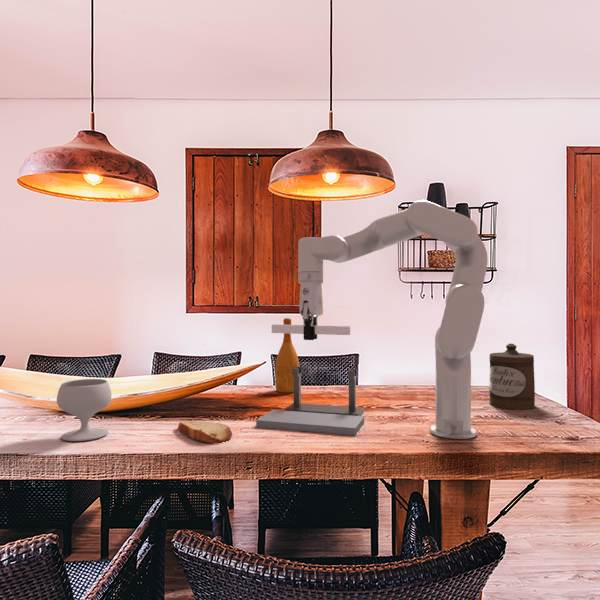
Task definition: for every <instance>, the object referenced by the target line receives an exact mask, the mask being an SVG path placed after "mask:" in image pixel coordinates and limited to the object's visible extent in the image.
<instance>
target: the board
mask: <svg viewBox="0 0 600 600" xmlns="http://www.w3.org/2000/svg"><path fill="white" fill-rule="evenodd" d="M364 424H365V416H363V415H362V416H352V415H338V414H324V413H310V412H296V411H284V410H278V409H272V410H270V411H268V412H267V413H265V414H264V415H262V416H260V417H259V418H257V419H256V420H255V425H256V428H266V429H276V430H277V429H278V430H287V429H289V431H302V432H312V433H323V434H324V433H325V434H334V435H335V434H336V435H337V434H338V435H346V434H348V436H356V435H357V434H358V433H359V432H360V430H361V429H362V427H363V425H364ZM359 429H360V430H359ZM357 432H358V433H357Z"/></svg>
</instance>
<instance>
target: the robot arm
mask: <svg viewBox="0 0 600 600" xmlns="http://www.w3.org/2000/svg"><path fill="white" fill-rule="evenodd" d="M423 235H427V236H428V237H431V238H434V239H436V240H438V241H440V242H443V243H444V244H445V246H446V247H447V248H448V249H450V250H451V251H452V252H453V255H454V257H455V263H454V264H455V265H454V268H453V273H452V277H451V281H450V285H449V288H448V291H447V294H446V296H445V308H444V311H443V316H442V319H441V323H440V326H439V327H438V329H437V331H436V333H435V337H434V347H435V348H434V349H435V350H434V351H435V353H434V354H435V424H433V425H431V426H430V427H429V432H430V433H431V434H432V435H434V436H436V437H441V438H445V439H452V440H453V439H454V440H467V439H472V438H475V437H476V436H477V429H475V428H474V427H472V426H471V425H472V424H471V423H472V421H471V420H472V419H471V418H472V409H471V408H472V397H471V396H472V393H471V391H472V387H471V386H472V363H471V361H472V360H471V358H472V357H471V352H472V351H473V349H474V347H475V345H476V340H477V337H478V333H479V329H480V326H481V322H482V318H483V314H484V309H485V297H484V294H483V286H484V282H485V279H486V278H485V277H486V273H487V268H488V261H489V259H488V251H487V249H486V246H485V244H484V242H483V240H482V238H481V237H480V236H479V231H478V226H477V225H476V223H475V222H474V221H473V220H472V219H471V218H470V217H468V216H466V215H464V214H462V213H459V212H457V211H453V210H452V209H449V208H446V207H444V206H442V205H439V204H437V203H434V202H431V201H428V200H425V199H422V200H416V201H414V202H412V203H411V204H409V206H408V208H406V209H403V210H401V211H398V212H393V214H389V215H386V216H383V217H381V218H377V219H376V220H374V221H373V222H371V223H370V224H369V225H367V227H365V228H363V229H362V230H359V231H357V232H356V233H352V234H350V235H347V236H343V237H341V236H339V235H333V234H332V235H327V236H321V237H314V236H308V237H307V236H306V237H305V236H304V237H302V238H299V240H298V244H297V245H298V247H297V248H298V254H297V255H298V256H297V258H298V259H297V260H298V261H297V262H298V263H297V265H298V267H297V268H298V269H297V272H298V273H297V275H298V276H297V277H298V278H297V280H298V281H297V283H298V284H300V287H299V315H301V316H302V320H303V323H302V325H303V326H304V334H303V341H315V340H317V339H318V334H314V327H313V325H318V318H319V317H320V316H322V315H323V314H324V309H323V308H324V307H323V288H322V284H324V260H325V261H330V262H333V263H338V264H339V263H340V264H341V263H345V262H348V261H352V260H355V259H357V258H360V257H363V256H366V255H369V254H372V253H373V252H377V251H380V250H381V251H382V250H383V249H385V248H387V247H391V246H393V245H396V244H400V243H403V242H405V241H408V240H409V241H410V240H411V239H414V238H417V237H421V236H423Z"/></svg>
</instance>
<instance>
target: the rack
mask: <svg viewBox="0 0 600 600" xmlns="http://www.w3.org/2000/svg"><path fill="white" fill-rule="evenodd" d="M357 371H358V369H357V368H350V370H347V379H348V406H345V405H330V404H329V405H328V404H316V403H315V404H313V403H302V375H303V367H302V366H299V367H296V368H292V376H293V377H294V392H293V402H292V403H291V404H290V405H288V406H287V407H285V408H284V409H283V411H296V412H310V413H324V414H338V415H352V416H361V415H362V416H363V415H364V413H365V407H359V406H357V378H358V377H357V375H358V373H357Z"/></svg>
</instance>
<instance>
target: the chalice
mask: <svg viewBox="0 0 600 600" xmlns="http://www.w3.org/2000/svg"><path fill="white" fill-rule="evenodd" d="M111 400H112V391H111V387H110V384H109V382H108V381H107V380H106V379H101V378H86V379H85V378H83V379H74V380H70V381H65V382H62V383H61V385H60V386H59V388H58V390H57V396H56V404H57V406H58V408H59V409H60V410H61V411H64V412H65V413H67V414H70V415H73V416H75V417H76V418H77V419H79V421H80V428H79V429H75V430H74V429H73V430H70V431H68V432H65V433H63V434H62V435H61V436H60V440H63V441H66V442H67V441H68V442H85V441H92V440H96V439H99V438H103V437H106V436H107V435H108V434H109V431H108V430H107V429H104V428H95V427H92V428H91V427H90V426H89V422H90V419H91V418H92V417H93V416H94V415H95V414H97V413H99V412H100V411H102V410H103V409H105V408H106V407H107V406H108V405H109V404H110V403H111V402H112V401H111Z"/></svg>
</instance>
